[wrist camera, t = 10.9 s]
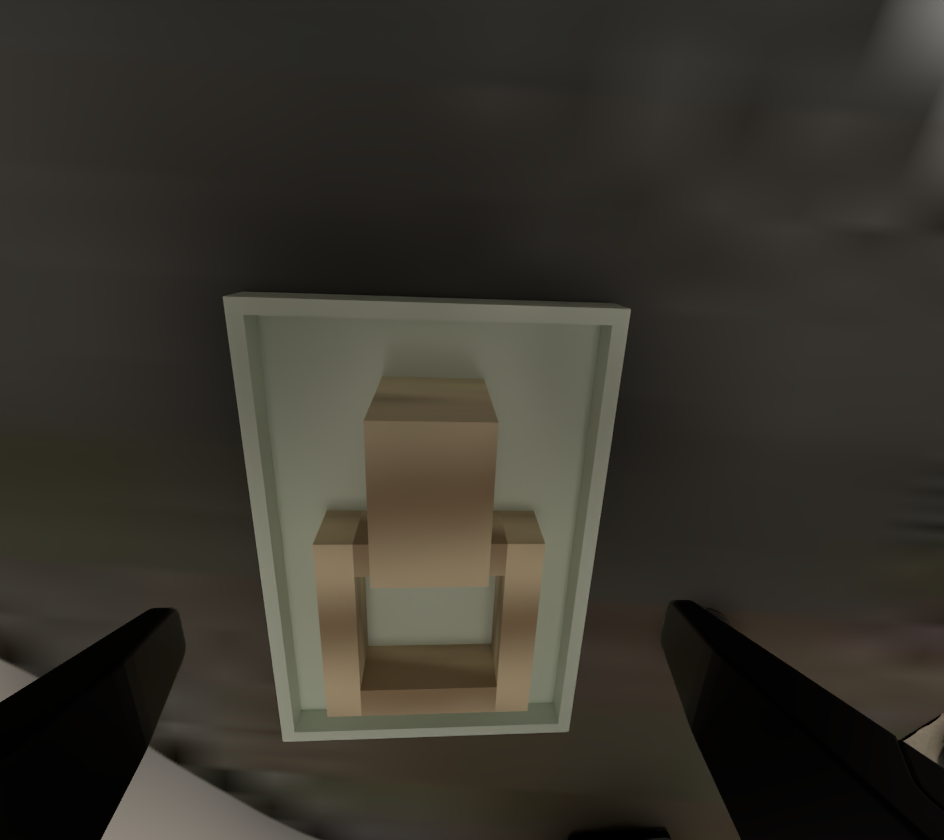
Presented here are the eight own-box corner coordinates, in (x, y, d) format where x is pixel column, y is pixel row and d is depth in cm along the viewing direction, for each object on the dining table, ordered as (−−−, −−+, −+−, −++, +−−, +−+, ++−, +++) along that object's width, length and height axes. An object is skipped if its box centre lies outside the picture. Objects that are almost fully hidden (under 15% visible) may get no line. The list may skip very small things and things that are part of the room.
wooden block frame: (519, 666, 24) (538, 766, 20) (338, 670, 24) (313, 774, 19) (546, 380, 19) (580, 423, 15) (316, 375, 19) (275, 419, 14)
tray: (560, 700, 26) (568, 731, 25) (293, 708, 25) (283, 741, 24) (614, 303, 19) (630, 308, 17) (242, 291, 18) (222, 296, 16)
